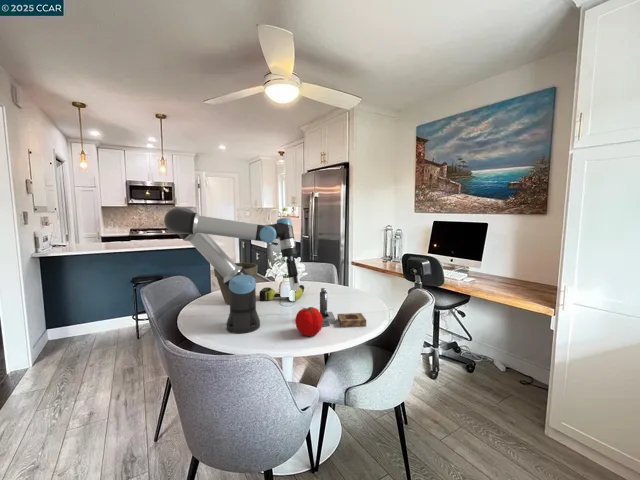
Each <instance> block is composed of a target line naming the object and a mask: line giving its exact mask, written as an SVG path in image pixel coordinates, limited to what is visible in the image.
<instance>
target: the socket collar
mask: <svg viewBox="0 0 640 480" xmlns="http://www.w3.org/2000/svg"><path fill="white" fill-rule="evenodd" d="M325 323H329V324H330V325H331V324H332V325H333V324H336V317H335V315H334V313H333V311H327V317H323V323H322V324H325Z"/></svg>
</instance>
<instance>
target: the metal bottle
mask: <svg viewBox="0 0 640 480" xmlns="http://www.w3.org/2000/svg"><path fill="white" fill-rule="evenodd" d="M319 312H320V313H321V315H322V317H327V312H328V292H327V288H326V287H321V288H320V292H319Z"/></svg>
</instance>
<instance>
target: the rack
mask: <svg viewBox="0 0 640 480" xmlns="http://www.w3.org/2000/svg"><path fill="white" fill-rule="evenodd" d="M336 316H337V321H338V324H339V326H340V328H356V327H358V328H361V327H367V319H366V318H365V316H364V315H363V314H362V312H353V313H352V312H351V313H349V312H348V313H337V315H336Z"/></svg>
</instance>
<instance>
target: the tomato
mask: <svg viewBox="0 0 640 480" xmlns="http://www.w3.org/2000/svg"><path fill="white" fill-rule="evenodd" d="M322 323H323V317H322V315H321V313H320V309H318V308H316V307H313V306H309V307H307V308H306V307H303V308H301V309H300V310H299V311H298V312H297V313H296V315H295V325H296V329H297V331H298V332H299V333H300V334H301V335H303V336H307V337H311V336H316V335H317V334H319V333H320V331H321V329H322V328H323V327H322Z"/></svg>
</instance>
